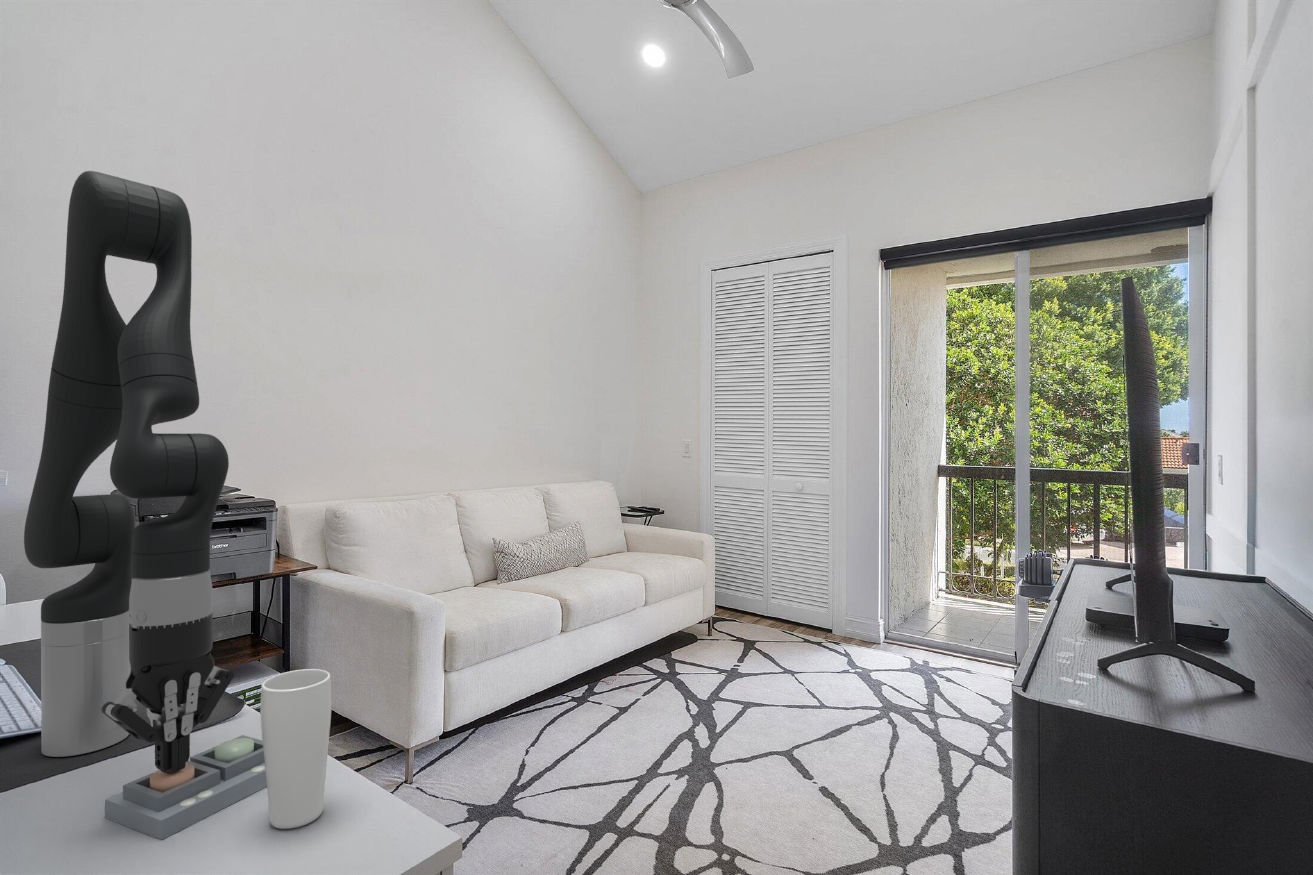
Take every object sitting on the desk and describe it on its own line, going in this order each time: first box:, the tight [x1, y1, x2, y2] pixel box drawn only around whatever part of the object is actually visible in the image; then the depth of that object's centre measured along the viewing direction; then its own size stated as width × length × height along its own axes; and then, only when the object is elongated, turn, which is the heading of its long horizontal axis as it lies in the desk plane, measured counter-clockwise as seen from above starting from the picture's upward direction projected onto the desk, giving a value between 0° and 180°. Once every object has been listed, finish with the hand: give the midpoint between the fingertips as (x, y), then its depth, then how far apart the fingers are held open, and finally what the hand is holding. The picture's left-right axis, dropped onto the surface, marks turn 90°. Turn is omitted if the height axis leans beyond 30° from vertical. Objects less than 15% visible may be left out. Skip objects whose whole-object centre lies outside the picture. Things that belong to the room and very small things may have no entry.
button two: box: [150, 763, 195, 793], centre depth 75 cm, size 4×4×2 cm
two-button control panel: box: [104, 735, 267, 841], centre depth 78 cm, size 10×15×4 cm, turn 156°
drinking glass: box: [260, 668, 332, 830], centre depth 73 cm, size 7×7×15 cm
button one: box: [215, 738, 254, 763], centre depth 81 cm, size 4×4×2 cm
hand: (172, 770), depth 75 cm, fingers closed
